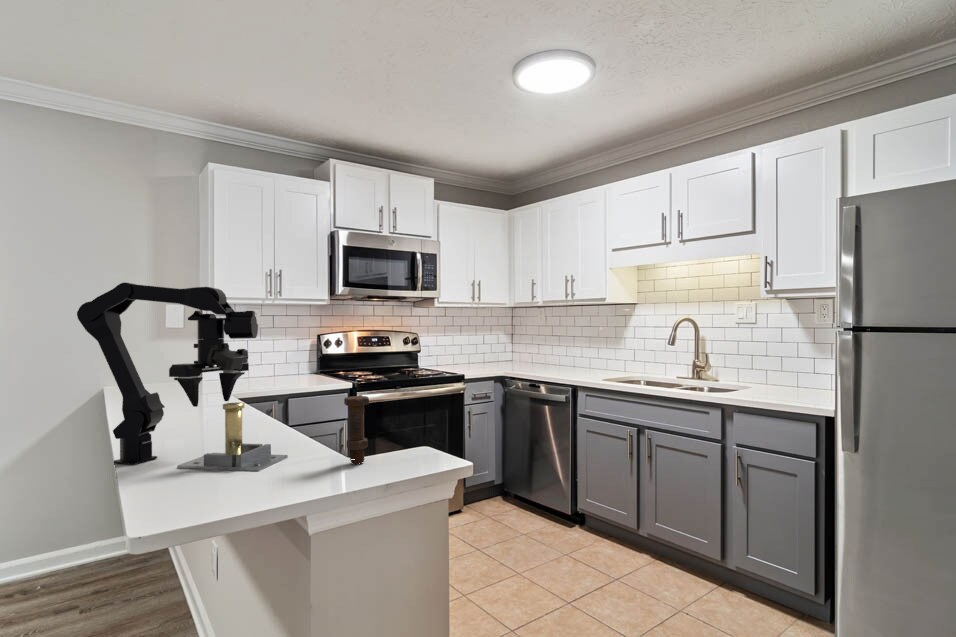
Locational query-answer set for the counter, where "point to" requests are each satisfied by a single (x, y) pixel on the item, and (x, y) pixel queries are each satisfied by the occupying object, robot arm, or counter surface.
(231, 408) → the pin
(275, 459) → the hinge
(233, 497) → the counter surface
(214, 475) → the counter surface
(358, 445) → the bolt
